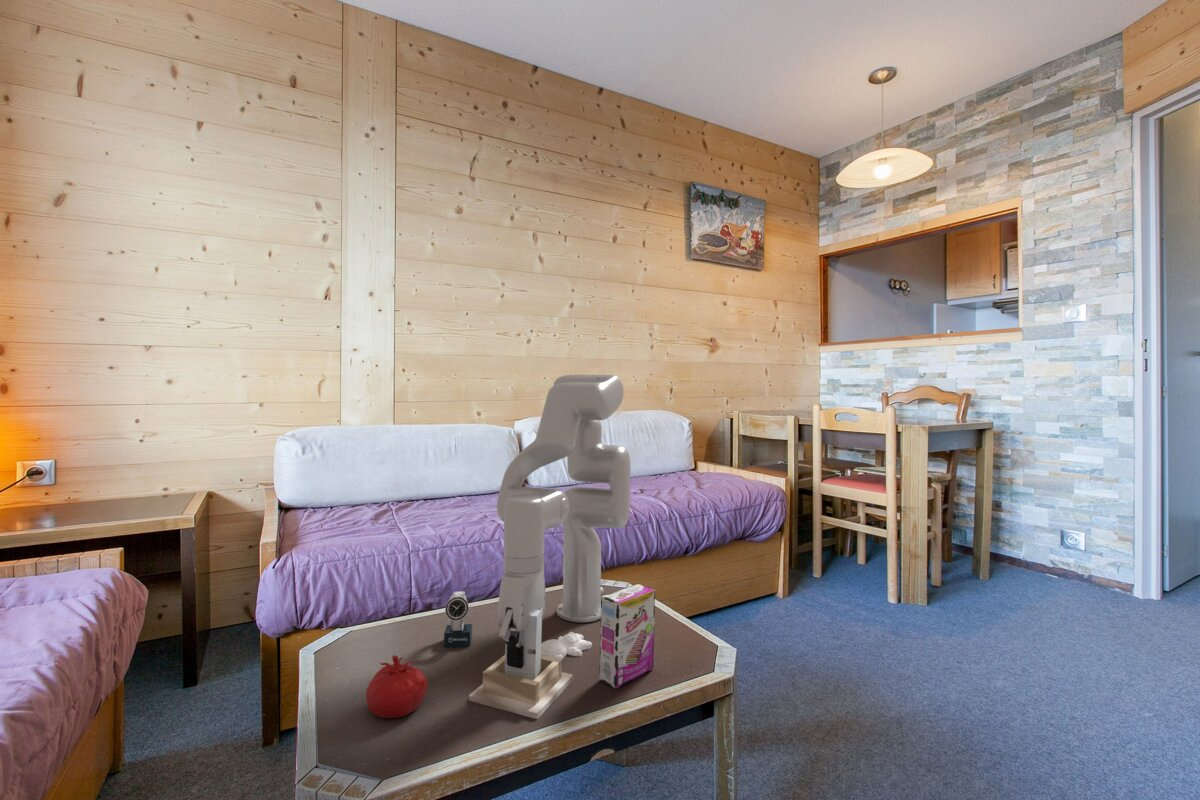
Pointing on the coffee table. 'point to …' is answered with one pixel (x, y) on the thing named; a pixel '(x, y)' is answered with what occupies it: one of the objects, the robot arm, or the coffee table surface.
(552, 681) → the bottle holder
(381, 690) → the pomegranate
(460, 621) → the watch
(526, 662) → the skincare box
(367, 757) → the coffee table surface
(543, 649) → the astronaut figurine
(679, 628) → the coffee table surface
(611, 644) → the candy bar box
